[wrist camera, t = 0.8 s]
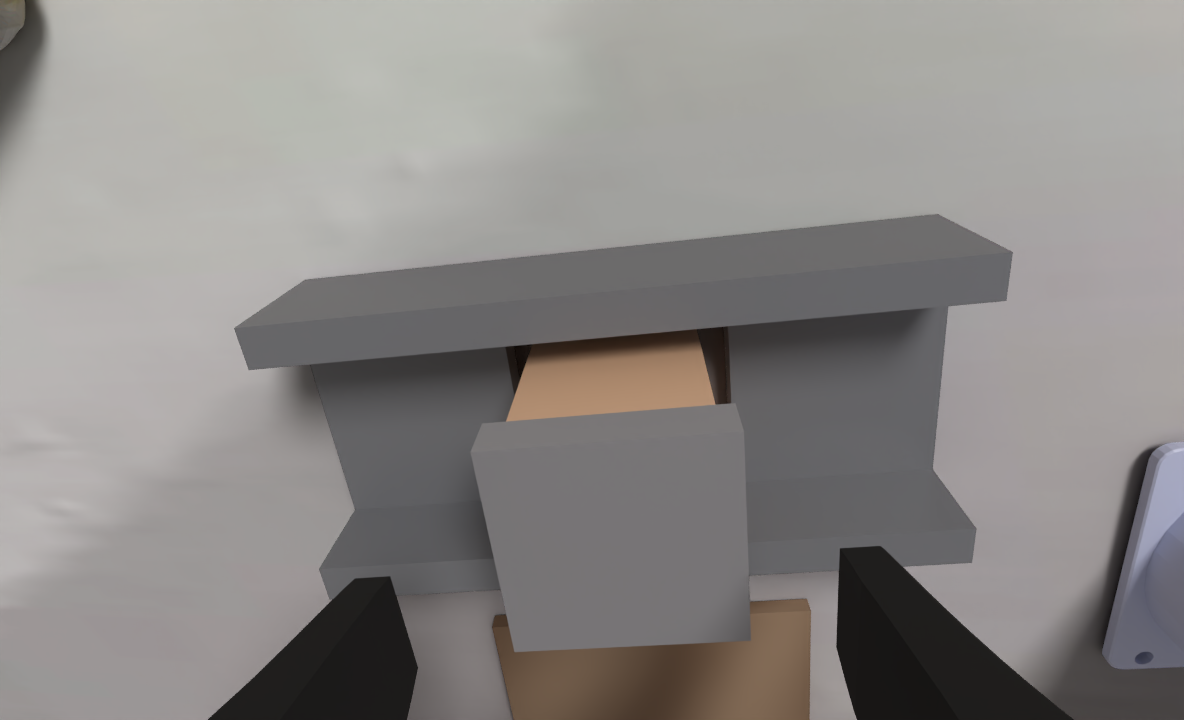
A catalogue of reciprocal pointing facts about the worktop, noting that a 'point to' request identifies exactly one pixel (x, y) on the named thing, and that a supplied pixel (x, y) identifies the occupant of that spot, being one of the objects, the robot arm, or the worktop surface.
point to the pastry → (10, 19)
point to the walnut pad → (669, 675)
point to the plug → (617, 498)
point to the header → (641, 306)
